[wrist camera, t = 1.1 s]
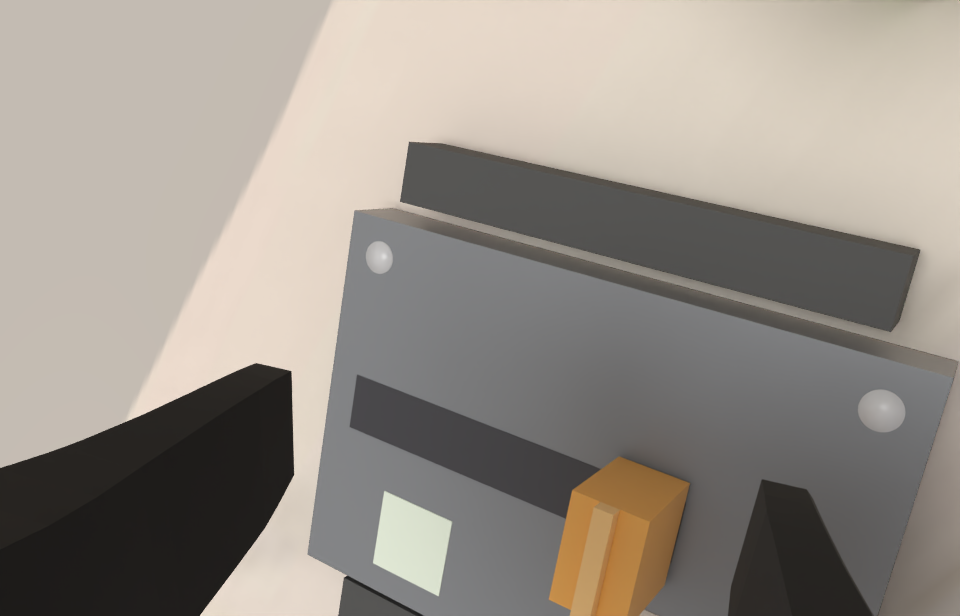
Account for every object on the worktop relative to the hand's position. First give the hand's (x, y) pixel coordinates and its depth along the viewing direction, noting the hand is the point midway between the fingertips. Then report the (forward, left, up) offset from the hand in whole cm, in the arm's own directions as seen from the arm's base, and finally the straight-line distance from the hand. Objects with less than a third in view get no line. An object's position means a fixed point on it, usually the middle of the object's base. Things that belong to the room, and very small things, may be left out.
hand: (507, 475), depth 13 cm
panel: (-5, +3, -13) cm, 14 cm away
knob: (-5, +1, -10) cm, 12 cm away
